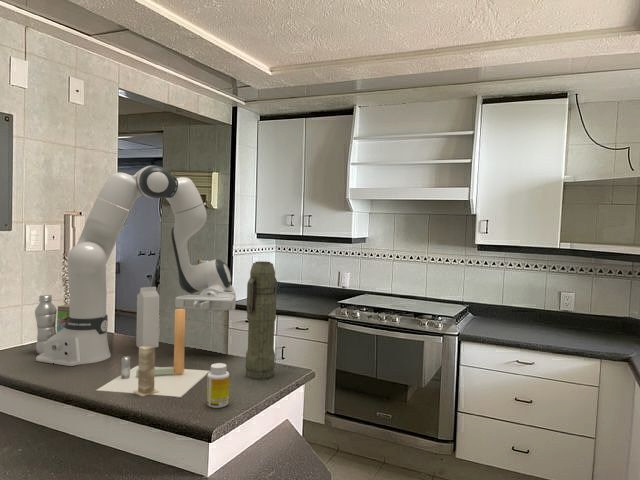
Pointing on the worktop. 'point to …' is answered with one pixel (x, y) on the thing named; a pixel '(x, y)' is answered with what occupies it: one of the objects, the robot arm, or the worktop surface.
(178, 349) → the orange upright dowel
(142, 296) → the milk
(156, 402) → the worktop surface
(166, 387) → the base board
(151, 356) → the post
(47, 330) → the plastic bottle
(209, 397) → the supplement bottle
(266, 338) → the thermos
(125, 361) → the post
